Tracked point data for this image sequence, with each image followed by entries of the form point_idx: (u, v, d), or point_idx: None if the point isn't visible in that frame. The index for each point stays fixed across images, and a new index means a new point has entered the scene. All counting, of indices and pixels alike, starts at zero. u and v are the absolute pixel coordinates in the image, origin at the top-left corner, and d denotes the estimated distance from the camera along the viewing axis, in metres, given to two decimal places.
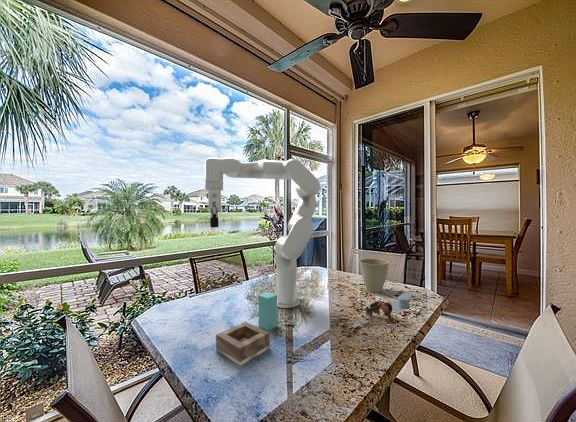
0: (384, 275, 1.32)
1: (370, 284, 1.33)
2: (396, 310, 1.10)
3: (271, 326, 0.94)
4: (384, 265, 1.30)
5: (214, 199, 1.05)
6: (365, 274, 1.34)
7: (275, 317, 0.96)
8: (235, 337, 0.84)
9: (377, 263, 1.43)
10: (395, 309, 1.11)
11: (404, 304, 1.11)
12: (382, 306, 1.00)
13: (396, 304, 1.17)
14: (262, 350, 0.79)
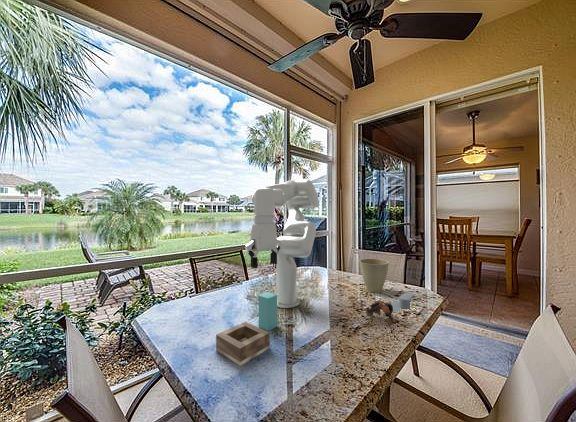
0: (384, 275, 1.32)
1: (370, 284, 1.33)
2: (397, 310, 1.10)
3: (271, 326, 0.94)
4: (384, 265, 1.30)
5: None
6: (365, 274, 1.34)
7: (275, 317, 0.96)
8: (235, 337, 0.84)
9: (377, 263, 1.43)
10: (396, 309, 1.11)
11: (405, 304, 1.11)
12: (383, 306, 1.00)
13: (397, 304, 1.17)
14: (262, 350, 0.79)
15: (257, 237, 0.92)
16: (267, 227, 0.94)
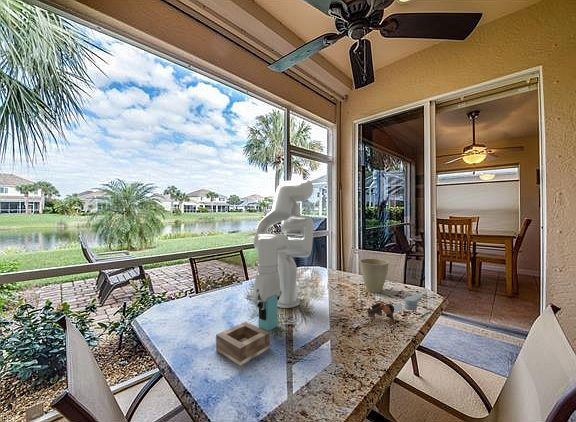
0: (384, 275, 1.32)
1: (370, 284, 1.33)
2: None
3: (271, 326, 0.94)
4: (384, 265, 1.30)
5: None
6: (365, 274, 1.34)
7: (275, 317, 0.96)
8: (235, 337, 0.84)
9: (377, 263, 1.43)
10: None
11: (410, 305, 1.10)
12: (384, 307, 0.99)
13: None
14: (262, 350, 0.79)
15: (261, 288, 0.92)
16: (271, 277, 0.94)
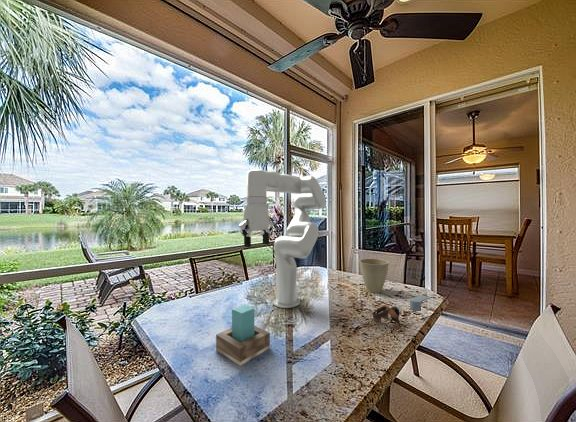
0: (384, 275, 1.32)
1: (370, 284, 1.33)
2: None
3: None
4: (384, 265, 1.30)
5: None
6: (365, 274, 1.34)
7: (251, 335, 0.81)
8: None
9: (377, 263, 1.43)
10: None
11: (414, 306, 1.09)
12: (390, 311, 0.95)
13: None
14: (262, 350, 0.79)
15: (250, 217, 0.95)
16: (259, 208, 0.97)
